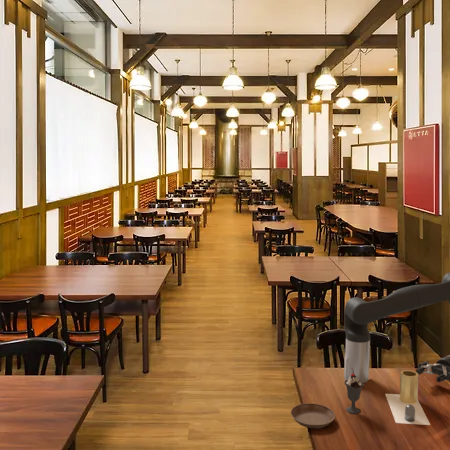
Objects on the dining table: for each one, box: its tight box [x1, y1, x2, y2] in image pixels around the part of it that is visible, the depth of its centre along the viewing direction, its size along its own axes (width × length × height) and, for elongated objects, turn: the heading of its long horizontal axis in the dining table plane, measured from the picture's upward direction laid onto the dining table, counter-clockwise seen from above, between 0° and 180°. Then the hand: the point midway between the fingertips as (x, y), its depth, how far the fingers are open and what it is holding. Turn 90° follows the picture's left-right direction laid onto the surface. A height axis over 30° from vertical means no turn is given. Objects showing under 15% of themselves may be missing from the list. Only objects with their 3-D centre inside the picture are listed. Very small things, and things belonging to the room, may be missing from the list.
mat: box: [385, 393, 431, 426], centre depth 187 cm, size 11×22×1 cm, turn 173°
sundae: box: [343, 368, 365, 415], centre depth 187 cm, size 7×7×15 cm
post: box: [405, 405, 415, 422], centre depth 179 cm, size 3×3×5 cm
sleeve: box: [399, 369, 419, 404], centre depth 193 cm, size 6×6×10 cm
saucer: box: [290, 402, 336, 429], centre depth 181 cm, size 15×15×3 cm
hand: (427, 375), depth 200 cm, fingers open, 8 cm apart
